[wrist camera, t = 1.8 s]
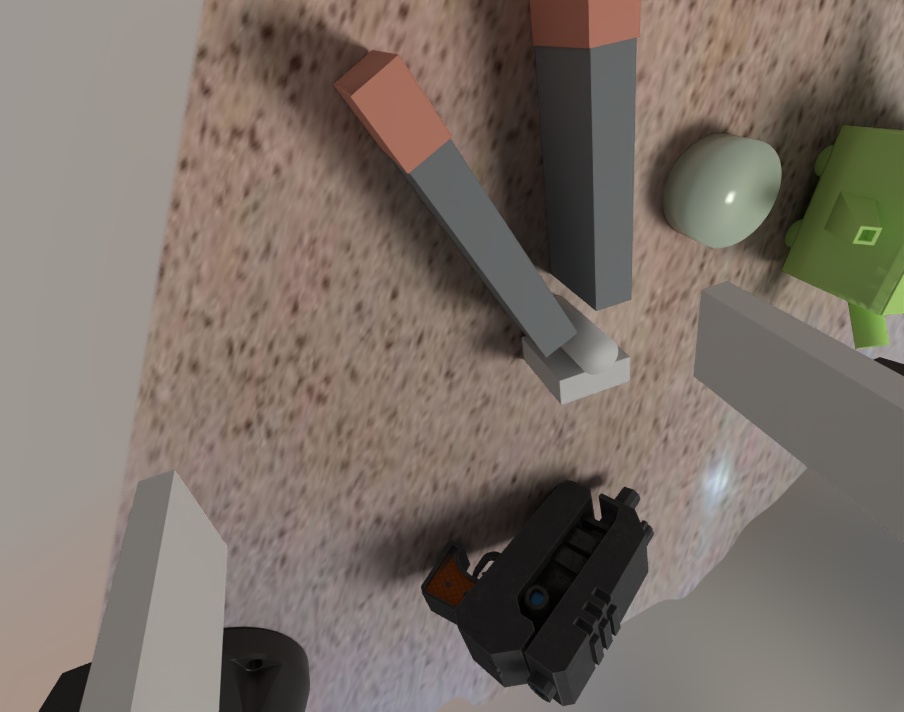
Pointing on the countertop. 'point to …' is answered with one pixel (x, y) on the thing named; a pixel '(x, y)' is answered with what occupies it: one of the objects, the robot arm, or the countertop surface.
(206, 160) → the countertop surface
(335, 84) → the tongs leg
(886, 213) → the kettle
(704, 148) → the grey-green pebble
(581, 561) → the tool
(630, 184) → the tongs base
